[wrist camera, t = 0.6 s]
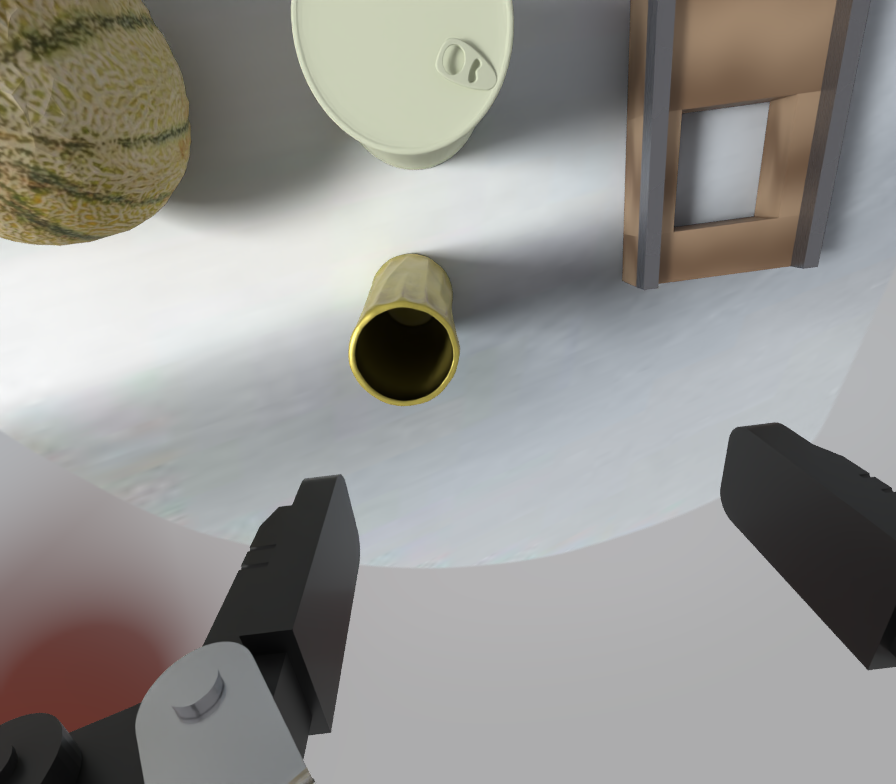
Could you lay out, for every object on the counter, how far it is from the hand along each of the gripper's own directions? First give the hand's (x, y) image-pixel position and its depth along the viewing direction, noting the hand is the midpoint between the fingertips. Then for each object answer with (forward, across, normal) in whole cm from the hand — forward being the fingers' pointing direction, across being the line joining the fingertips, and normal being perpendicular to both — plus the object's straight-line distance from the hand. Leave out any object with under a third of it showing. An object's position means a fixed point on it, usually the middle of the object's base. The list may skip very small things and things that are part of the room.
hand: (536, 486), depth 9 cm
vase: (+27, +3, +2) cm, 27 cm away
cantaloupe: (+27, +21, -12) cm, 36 cm away
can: (+27, +2, -12) cm, 29 cm away
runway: (+27, -18, -11) cm, 34 cm away
